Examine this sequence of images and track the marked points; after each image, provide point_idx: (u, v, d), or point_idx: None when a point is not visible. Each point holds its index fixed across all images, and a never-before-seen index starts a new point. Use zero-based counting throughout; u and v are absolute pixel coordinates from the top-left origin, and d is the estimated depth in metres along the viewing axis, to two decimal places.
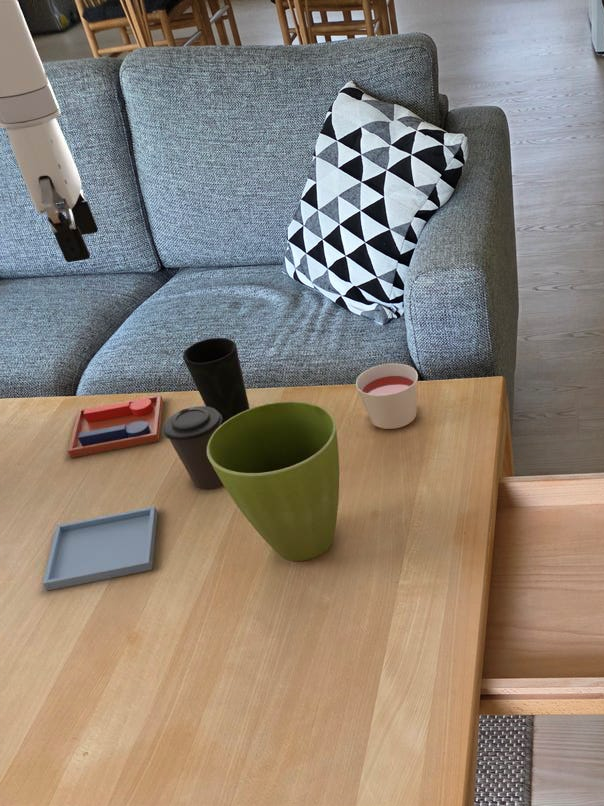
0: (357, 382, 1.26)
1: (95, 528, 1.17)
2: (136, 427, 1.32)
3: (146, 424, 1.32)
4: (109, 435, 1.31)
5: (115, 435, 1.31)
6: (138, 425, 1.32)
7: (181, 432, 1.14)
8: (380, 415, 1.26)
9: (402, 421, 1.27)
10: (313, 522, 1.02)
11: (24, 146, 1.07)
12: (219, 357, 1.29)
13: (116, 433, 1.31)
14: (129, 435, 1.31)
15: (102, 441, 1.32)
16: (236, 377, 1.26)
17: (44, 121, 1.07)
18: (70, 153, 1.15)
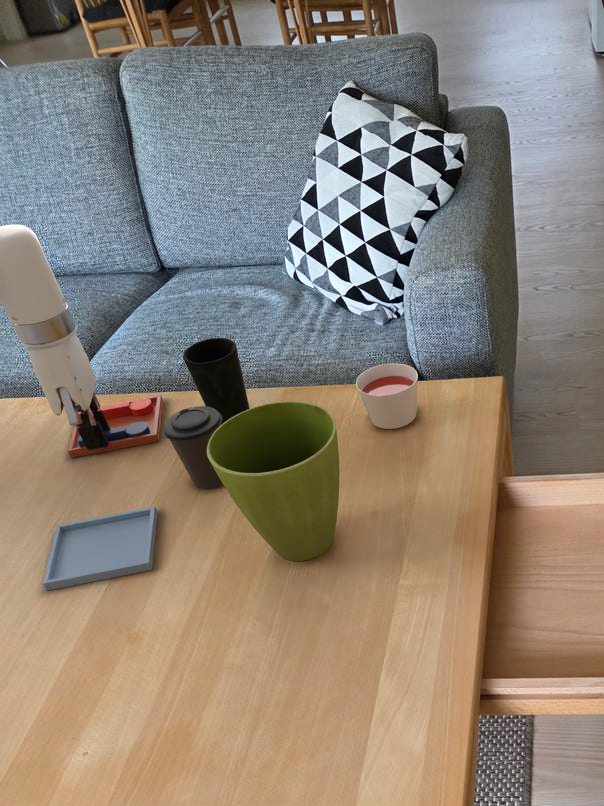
0: (357, 382, 1.26)
1: (95, 528, 1.17)
2: (136, 428, 1.32)
3: (146, 424, 1.32)
4: (109, 437, 1.31)
5: (115, 437, 1.31)
6: (138, 426, 1.32)
7: (181, 432, 1.14)
8: (380, 415, 1.26)
9: (402, 421, 1.27)
10: (313, 522, 1.02)
11: (43, 364, 1.17)
12: (219, 357, 1.29)
13: (116, 435, 1.31)
14: (130, 436, 1.31)
15: None
16: (236, 377, 1.26)
17: (62, 341, 1.17)
18: (86, 355, 1.25)
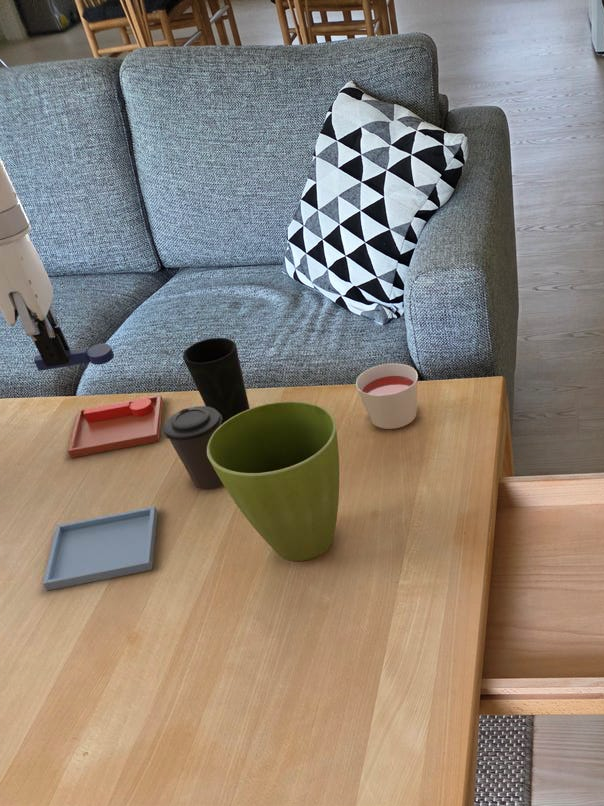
0: (357, 382, 1.26)
1: (95, 528, 1.17)
2: (98, 350, 1.21)
3: (109, 347, 1.21)
4: None
5: (75, 359, 1.20)
6: (100, 348, 1.21)
7: (181, 432, 1.14)
8: (380, 415, 1.26)
9: (402, 421, 1.27)
10: (313, 522, 1.02)
11: None
12: (219, 357, 1.29)
13: (76, 357, 1.20)
14: (91, 359, 1.20)
15: (61, 365, 1.21)
16: (236, 377, 1.26)
17: (14, 239, 1.07)
18: (41, 263, 1.15)
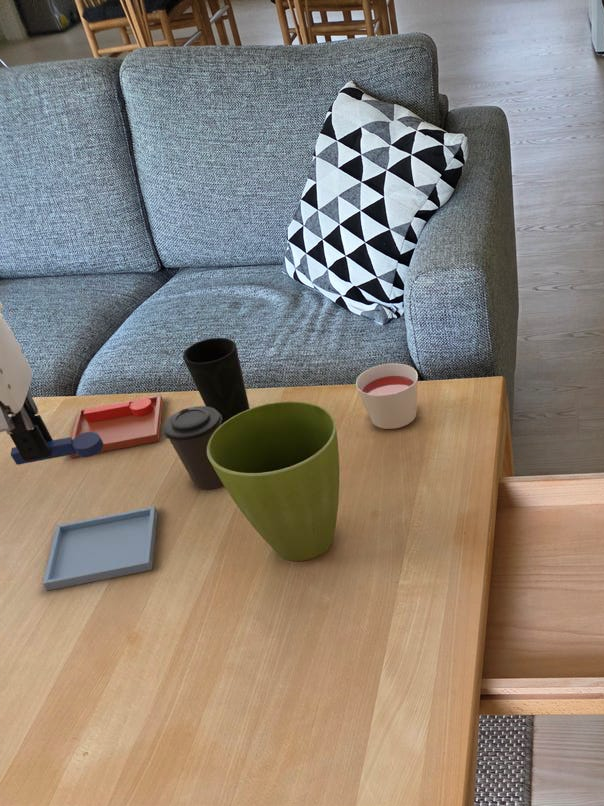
0: (357, 382, 1.26)
1: (95, 528, 1.17)
2: (85, 440, 1.04)
3: (98, 437, 1.04)
4: (51, 451, 1.03)
5: (58, 451, 1.04)
6: (88, 438, 1.04)
7: (181, 432, 1.14)
8: (380, 415, 1.26)
9: (402, 421, 1.27)
10: (313, 522, 1.02)
11: None
12: (219, 357, 1.29)
13: (59, 449, 1.03)
14: (76, 451, 1.04)
15: (42, 458, 1.04)
16: (236, 377, 1.26)
17: None
18: (17, 344, 0.98)
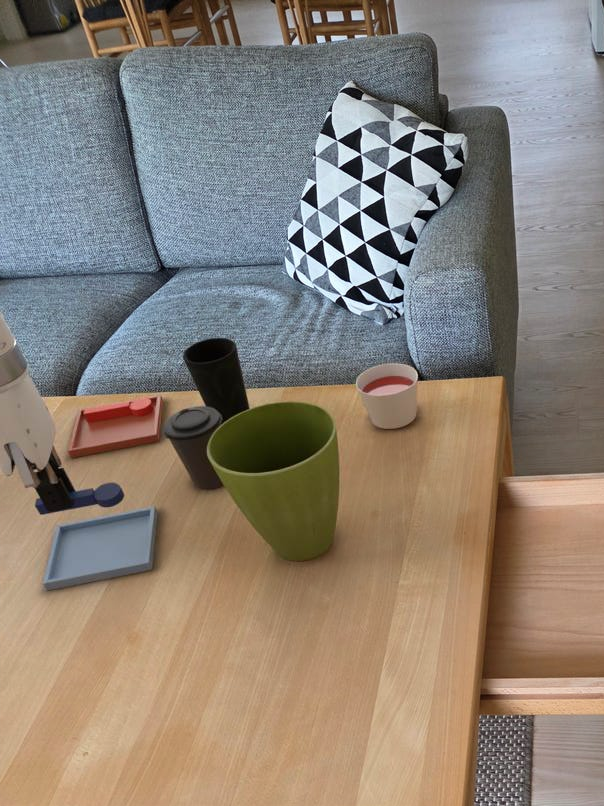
0: (357, 382, 1.26)
1: (95, 528, 1.17)
2: (107, 491, 1.08)
3: (119, 488, 1.08)
4: None
5: (81, 502, 1.07)
6: (109, 489, 1.08)
7: (181, 432, 1.14)
8: (380, 415, 1.26)
9: (402, 421, 1.27)
10: (313, 522, 1.02)
11: None
12: (219, 357, 1.29)
13: (82, 499, 1.07)
14: (98, 502, 1.07)
15: (65, 509, 1.08)
16: (236, 377, 1.26)
17: (9, 387, 0.94)
18: (42, 401, 1.02)
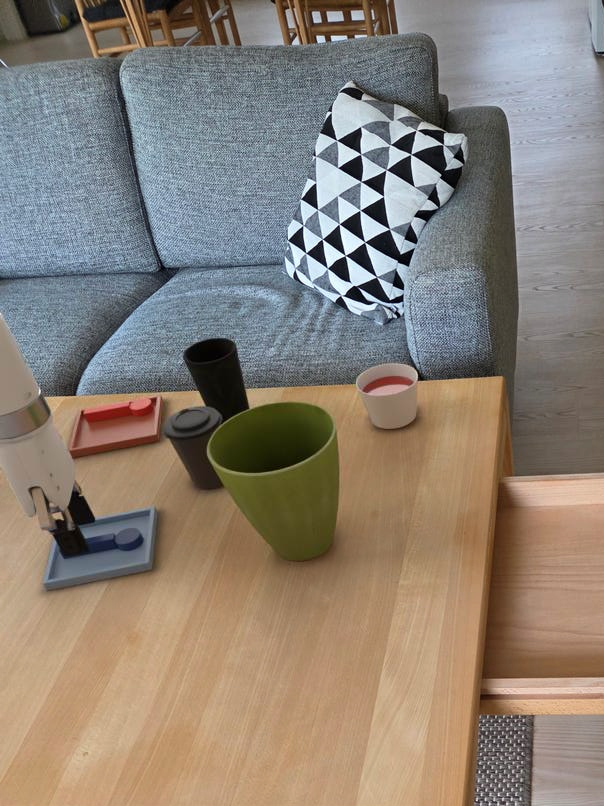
0: (357, 382, 1.26)
1: (95, 528, 1.17)
2: (127, 536, 1.13)
3: (138, 532, 1.13)
4: (95, 546, 1.12)
5: (102, 546, 1.12)
6: (129, 533, 1.13)
7: (181, 432, 1.14)
8: (380, 415, 1.26)
9: (402, 421, 1.27)
10: (313, 522, 1.02)
11: (13, 461, 0.98)
12: (219, 357, 1.29)
13: (103, 544, 1.12)
14: (118, 546, 1.12)
15: (87, 552, 1.13)
16: (236, 377, 1.26)
17: (34, 434, 0.98)
18: (63, 443, 1.06)
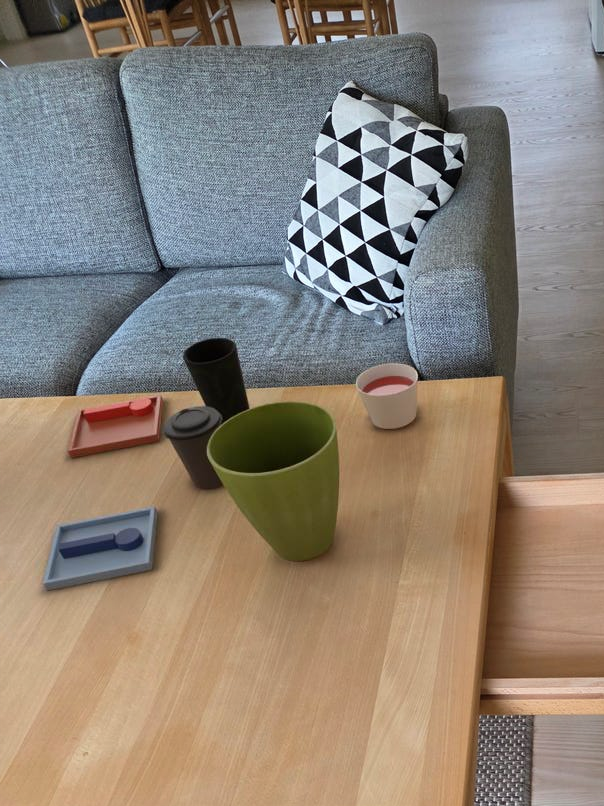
0: (357, 382, 1.26)
1: (95, 528, 1.17)
2: (127, 536, 1.13)
3: (138, 532, 1.13)
4: (95, 546, 1.12)
5: (102, 546, 1.12)
6: (129, 533, 1.13)
7: (181, 432, 1.14)
8: (380, 415, 1.26)
9: (402, 421, 1.27)
10: (313, 522, 1.02)
11: None
12: (219, 357, 1.29)
13: (103, 544, 1.12)
14: (118, 546, 1.12)
15: (87, 552, 1.13)
16: (236, 377, 1.26)
17: None
18: None
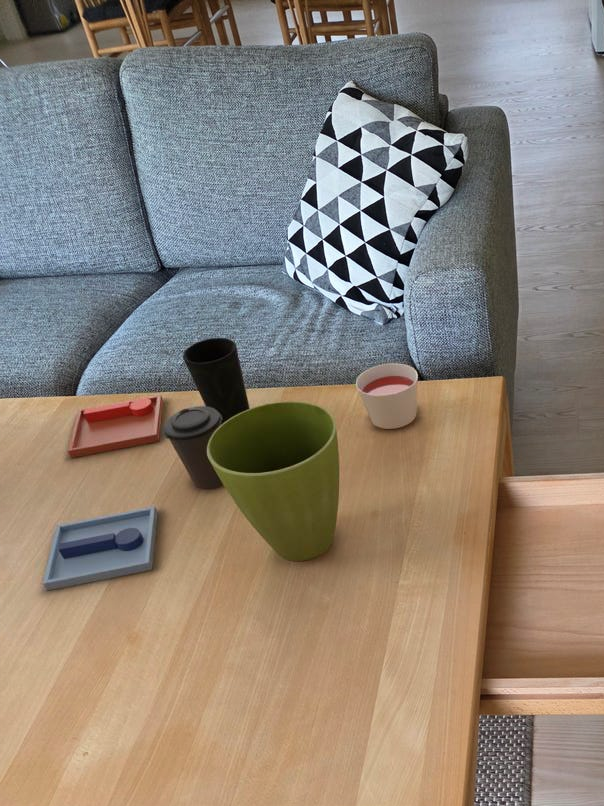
0: (357, 382, 1.26)
1: (95, 528, 1.17)
2: (127, 536, 1.13)
3: (138, 532, 1.13)
4: (95, 546, 1.12)
5: (102, 546, 1.12)
6: (129, 533, 1.13)
7: (181, 432, 1.14)
8: (380, 415, 1.26)
9: (402, 421, 1.27)
10: (313, 522, 1.02)
11: None
12: (219, 357, 1.29)
13: (103, 544, 1.12)
14: (118, 546, 1.12)
15: (87, 552, 1.13)
16: (236, 377, 1.26)
17: None
18: None
